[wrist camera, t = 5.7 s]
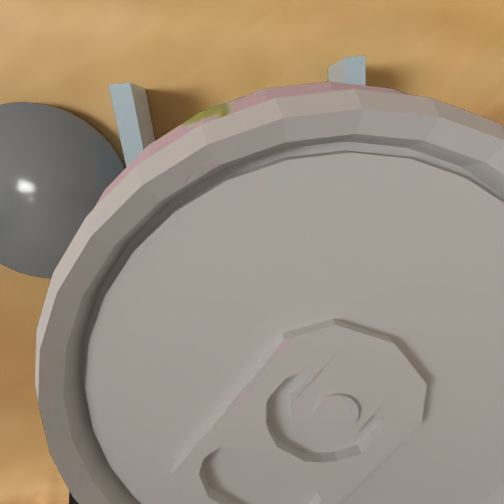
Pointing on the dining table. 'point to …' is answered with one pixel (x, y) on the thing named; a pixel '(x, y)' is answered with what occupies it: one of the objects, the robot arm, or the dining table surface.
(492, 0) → the dining table surface
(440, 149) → the beverage can
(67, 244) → the grey round disc
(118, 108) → the channel
